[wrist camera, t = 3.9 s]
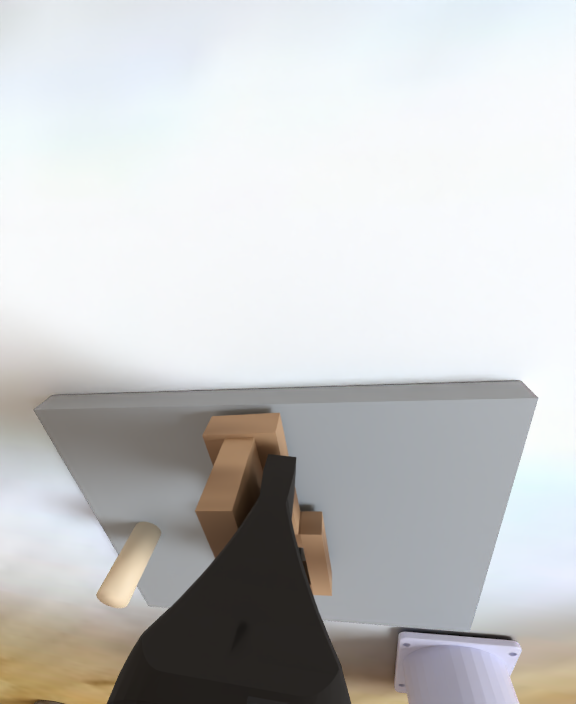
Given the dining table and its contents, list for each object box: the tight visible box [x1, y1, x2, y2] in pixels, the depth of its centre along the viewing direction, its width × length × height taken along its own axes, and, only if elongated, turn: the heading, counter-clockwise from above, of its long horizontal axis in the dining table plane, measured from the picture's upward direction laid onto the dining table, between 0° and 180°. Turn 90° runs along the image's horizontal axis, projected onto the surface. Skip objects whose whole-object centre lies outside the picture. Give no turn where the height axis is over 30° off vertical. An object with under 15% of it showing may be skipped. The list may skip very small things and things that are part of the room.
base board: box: [34, 381, 538, 632], centre depth 16 cm, size 18×22×6 cm
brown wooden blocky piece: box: [195, 413, 332, 596], centre depth 14 cm, size 11×5×4 cm, turn 9°
